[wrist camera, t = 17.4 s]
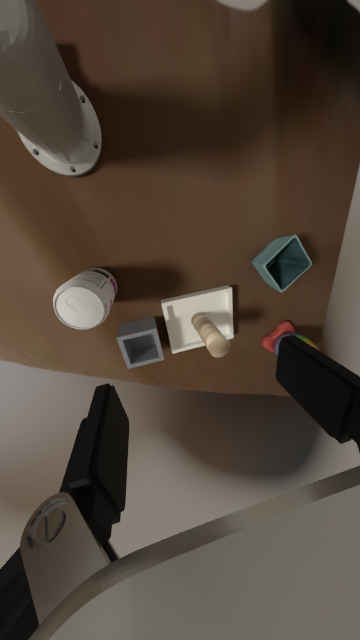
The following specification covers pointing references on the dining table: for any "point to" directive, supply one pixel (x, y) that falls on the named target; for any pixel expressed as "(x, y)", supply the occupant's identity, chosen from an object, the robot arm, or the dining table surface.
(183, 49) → the dining table surface
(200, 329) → the birch peg
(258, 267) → the flower pot
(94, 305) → the supplement can
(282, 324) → the stacking bear
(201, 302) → the white tray
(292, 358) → the robot arm
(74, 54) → the dining table surface
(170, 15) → the dining table surface
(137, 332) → the grey open box
